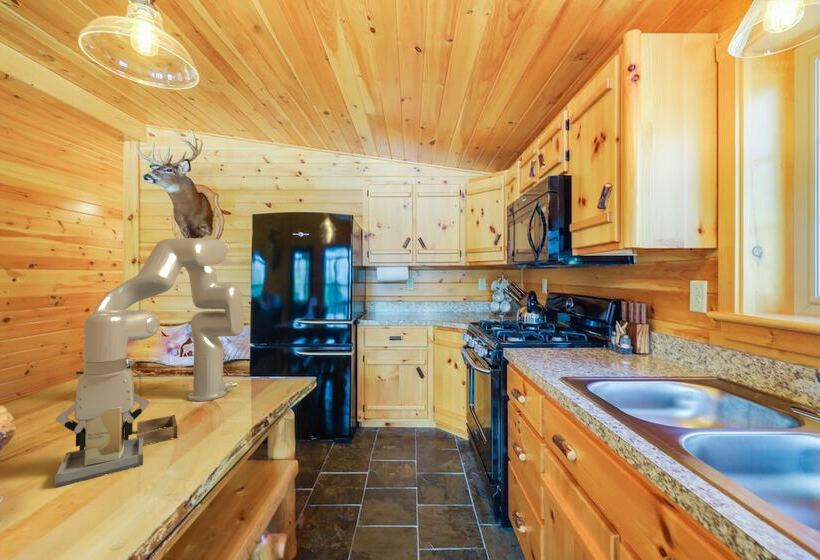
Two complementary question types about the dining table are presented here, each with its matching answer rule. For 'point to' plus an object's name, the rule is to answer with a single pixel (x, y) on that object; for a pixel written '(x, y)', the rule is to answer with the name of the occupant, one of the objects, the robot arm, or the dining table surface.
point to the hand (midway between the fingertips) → (105, 442)
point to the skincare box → (104, 437)
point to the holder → (157, 434)
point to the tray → (98, 464)
